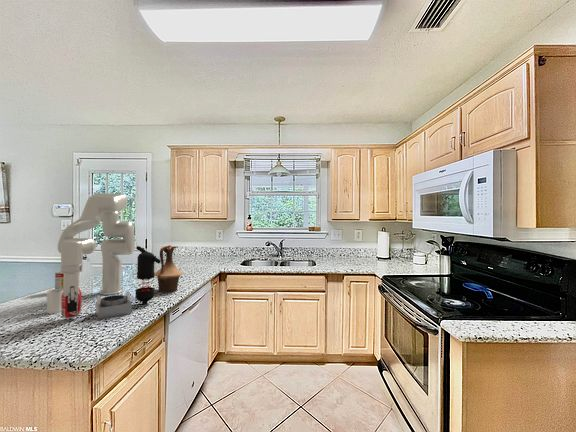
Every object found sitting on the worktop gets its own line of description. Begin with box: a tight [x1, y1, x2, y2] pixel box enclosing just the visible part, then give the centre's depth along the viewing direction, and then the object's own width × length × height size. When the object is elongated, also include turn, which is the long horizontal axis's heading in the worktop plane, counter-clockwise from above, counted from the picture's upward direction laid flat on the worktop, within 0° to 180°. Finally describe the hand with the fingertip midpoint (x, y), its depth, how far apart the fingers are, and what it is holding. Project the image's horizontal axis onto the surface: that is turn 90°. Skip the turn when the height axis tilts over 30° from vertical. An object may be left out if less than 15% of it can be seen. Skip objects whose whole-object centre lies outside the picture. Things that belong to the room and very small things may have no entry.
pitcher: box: [154, 244, 184, 293], centre depth 177 cm, size 18×17×28 cm
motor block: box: [94, 290, 133, 320], centre depth 134 cm, size 11×13×9 cm
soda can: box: [60, 287, 83, 319], centre depth 125 cm, size 7×7×12 cm
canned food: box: [54, 270, 64, 289], centre depth 168 cm, size 8×8×12 cm
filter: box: [135, 245, 161, 305], centre depth 149 cm, size 14×9×30 cm
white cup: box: [46, 288, 63, 315], centre depth 134 cm, size 7×7×10 cm
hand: (71, 308), depth 125 cm, fingers closed on soda can, 7 cm apart
